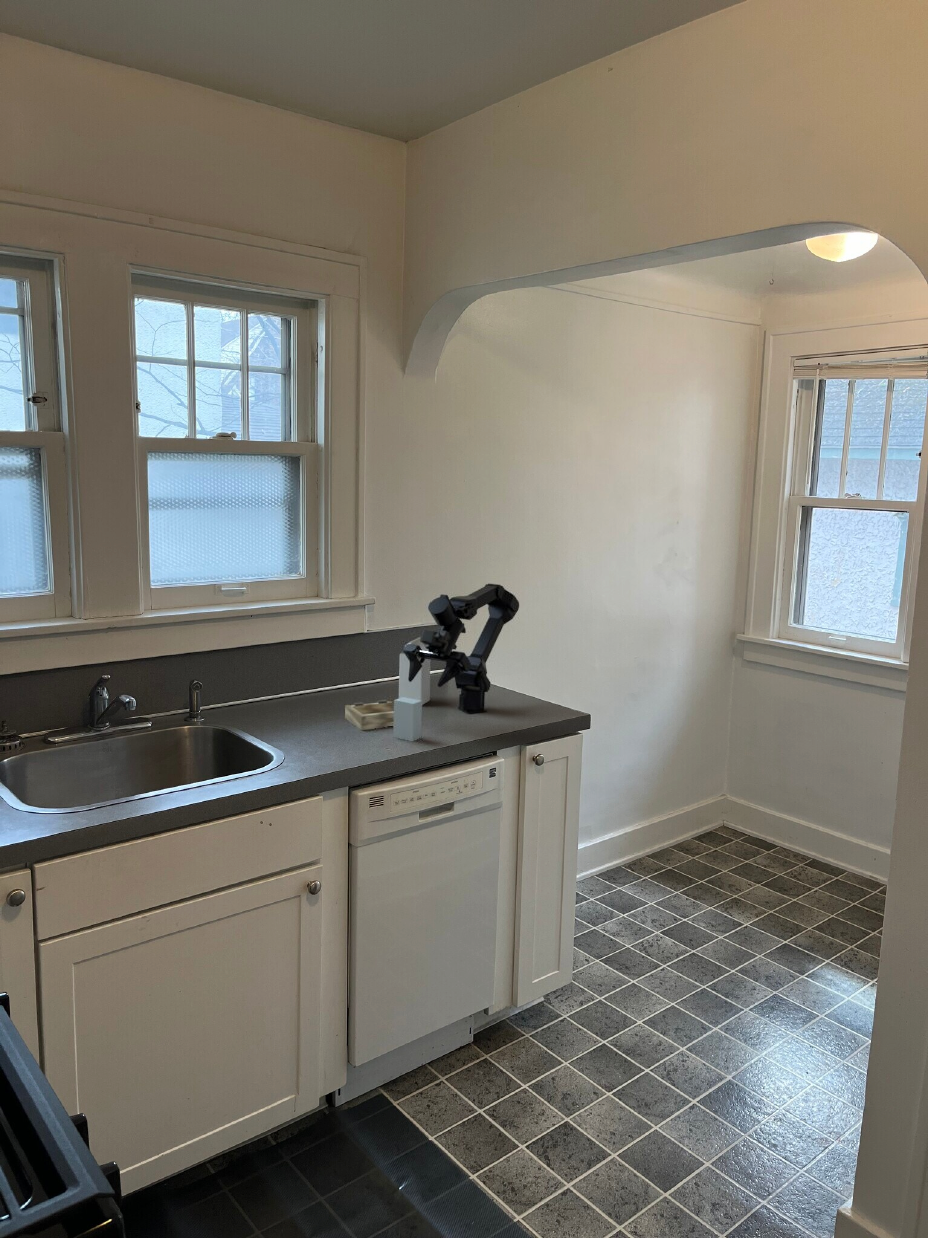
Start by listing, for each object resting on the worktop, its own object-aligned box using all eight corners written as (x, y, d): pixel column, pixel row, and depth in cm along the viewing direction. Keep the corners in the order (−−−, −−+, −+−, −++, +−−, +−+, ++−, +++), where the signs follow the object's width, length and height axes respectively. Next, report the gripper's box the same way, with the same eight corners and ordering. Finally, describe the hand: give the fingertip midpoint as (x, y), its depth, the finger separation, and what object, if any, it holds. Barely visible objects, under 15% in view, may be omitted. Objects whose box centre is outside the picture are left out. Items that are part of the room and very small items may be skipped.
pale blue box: (402, 734, 244) (402, 697, 242) (421, 738, 241) (422, 700, 239) (393, 737, 240) (394, 700, 239) (412, 741, 237) (413, 703, 236)
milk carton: (429, 700, 277) (431, 638, 274) (420, 706, 271) (422, 642, 267) (407, 698, 280) (409, 636, 276) (398, 703, 273) (399, 640, 270)
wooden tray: (391, 713, 263) (391, 698, 262) (409, 724, 252) (409, 709, 252) (345, 718, 256) (345, 703, 255) (361, 730, 246) (361, 714, 245)
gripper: (407, 614, 251) (382, 661, 243) (466, 622, 241) (442, 671, 234) (422, 638, 259) (399, 684, 251) (480, 647, 249) (458, 695, 242)
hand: (423, 683), depth 244 cm, fingers open, 9 cm apart
